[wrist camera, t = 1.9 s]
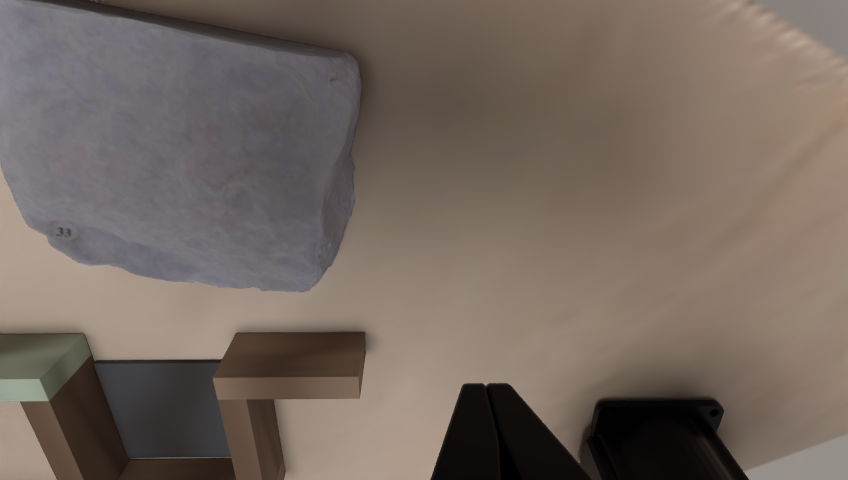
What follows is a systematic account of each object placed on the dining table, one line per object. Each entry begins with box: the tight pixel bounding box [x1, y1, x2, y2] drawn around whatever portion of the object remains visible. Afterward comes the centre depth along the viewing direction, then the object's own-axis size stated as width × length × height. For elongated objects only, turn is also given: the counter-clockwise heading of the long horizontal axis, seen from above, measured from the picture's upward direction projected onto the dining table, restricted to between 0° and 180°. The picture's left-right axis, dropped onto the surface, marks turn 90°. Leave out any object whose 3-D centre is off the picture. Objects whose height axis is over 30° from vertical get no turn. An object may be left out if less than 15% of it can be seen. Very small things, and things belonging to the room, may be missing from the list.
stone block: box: [0, 0, 362, 292], centre depth 18 cm, size 12×5×10 cm
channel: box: [0, 333, 366, 480], centre depth 20 cm, size 22×26×3 cm
